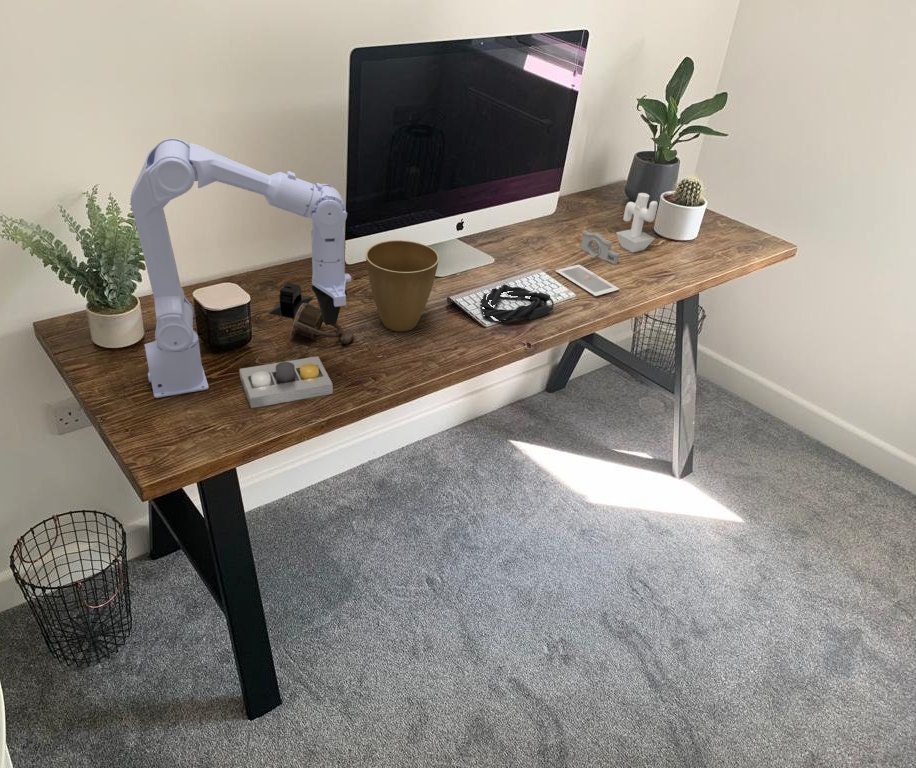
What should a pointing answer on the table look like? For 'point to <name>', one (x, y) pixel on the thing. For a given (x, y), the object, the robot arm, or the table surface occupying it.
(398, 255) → the plant pot
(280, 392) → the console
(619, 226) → the table surface
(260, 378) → the white button
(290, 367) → the dark grey rounded block
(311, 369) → the amber button
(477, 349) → the table surface
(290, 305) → the black mount on base
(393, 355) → the table surface
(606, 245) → the grey bracket plate
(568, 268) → the touchpad
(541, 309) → the cable
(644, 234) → the figurine
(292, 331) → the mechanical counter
